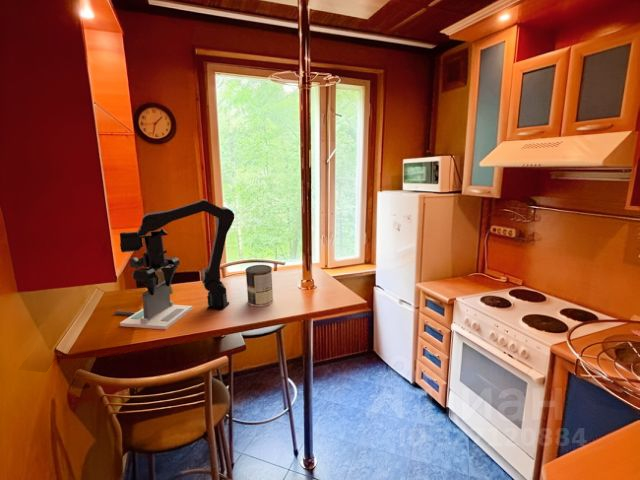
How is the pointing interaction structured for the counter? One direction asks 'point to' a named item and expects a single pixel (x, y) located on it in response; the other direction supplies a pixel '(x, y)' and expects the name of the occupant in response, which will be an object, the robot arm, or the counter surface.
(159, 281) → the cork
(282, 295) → the counter surface
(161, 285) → the lever
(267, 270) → the coffee can
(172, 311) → the switch plate
